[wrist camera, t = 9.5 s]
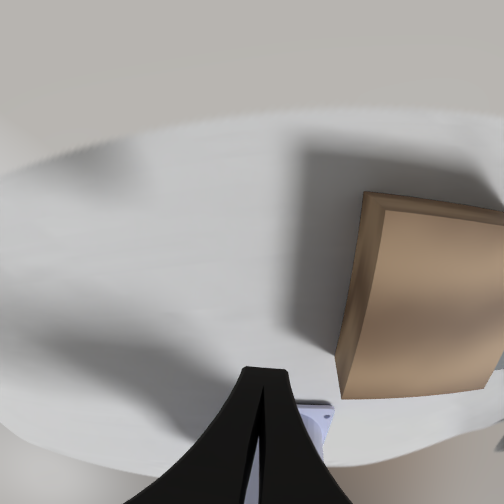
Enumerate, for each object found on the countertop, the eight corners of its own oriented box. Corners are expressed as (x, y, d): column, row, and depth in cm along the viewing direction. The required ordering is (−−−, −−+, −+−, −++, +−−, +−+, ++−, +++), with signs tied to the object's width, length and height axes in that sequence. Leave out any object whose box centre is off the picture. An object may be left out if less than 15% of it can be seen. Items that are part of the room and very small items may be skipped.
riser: (463, 353, 20) (483, 388, 16) (334, 356, 20) (341, 399, 17) (508, 213, 15) (545, 233, 12) (363, 191, 16) (385, 210, 13)
